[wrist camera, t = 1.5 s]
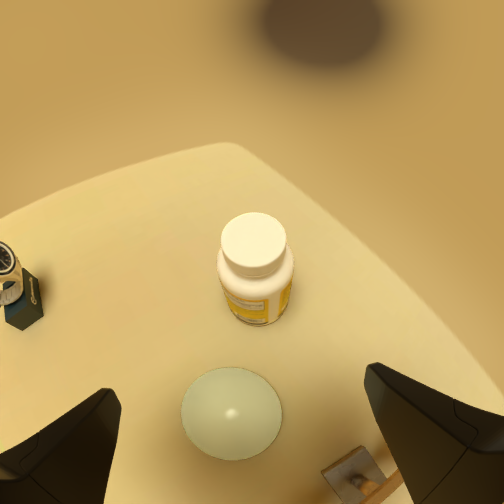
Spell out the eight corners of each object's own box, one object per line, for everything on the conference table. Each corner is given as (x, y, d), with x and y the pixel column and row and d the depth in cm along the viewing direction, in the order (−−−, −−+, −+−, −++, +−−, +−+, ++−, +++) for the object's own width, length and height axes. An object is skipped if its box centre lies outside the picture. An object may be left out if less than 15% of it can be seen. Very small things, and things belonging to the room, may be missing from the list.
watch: (54, 308, 25) (-11, 259, 15) (14, 336, 23) (-49, 299, 13) (47, 271, 27) (-7, 219, 18) (10, 299, 25) (-45, 258, 16)
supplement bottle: (270, 263, 27) (273, 192, 18) (298, 310, 24) (317, 255, 16) (218, 286, 26) (197, 222, 17) (243, 337, 23) (230, 294, 15)
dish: (299, 430, 19) (300, 431, 18) (213, 471, 17) (211, 474, 16) (250, 352, 22) (249, 350, 22) (168, 392, 21) (164, 392, 20)
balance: (422, 450, 16) (474, 456, 9) (302, 531, 13) (316, 574, 6) (399, 414, 18) (450, 411, 12) (273, 496, 15) (277, 534, 9)
